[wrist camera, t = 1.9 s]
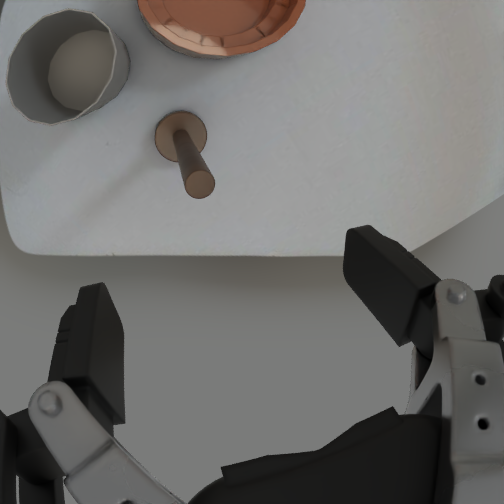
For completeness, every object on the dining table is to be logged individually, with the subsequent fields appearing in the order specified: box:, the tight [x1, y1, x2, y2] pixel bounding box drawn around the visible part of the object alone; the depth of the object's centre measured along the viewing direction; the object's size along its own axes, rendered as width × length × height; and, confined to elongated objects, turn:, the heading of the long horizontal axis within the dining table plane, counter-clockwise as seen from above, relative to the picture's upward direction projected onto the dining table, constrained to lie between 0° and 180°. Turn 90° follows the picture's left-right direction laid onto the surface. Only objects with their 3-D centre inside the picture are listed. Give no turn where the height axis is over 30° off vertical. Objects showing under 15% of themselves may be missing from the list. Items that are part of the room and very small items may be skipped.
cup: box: [6, 8, 130, 126], centre depth 19 cm, size 8×8×10 cm
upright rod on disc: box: [155, 111, 215, 199], centre depth 23 cm, size 5×5×16 cm
